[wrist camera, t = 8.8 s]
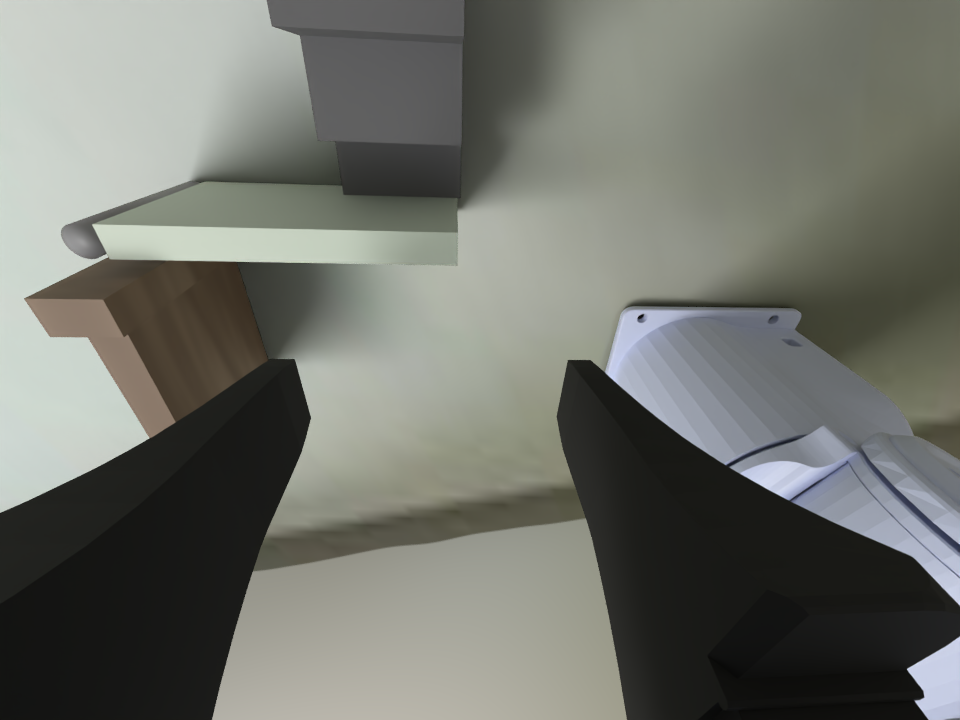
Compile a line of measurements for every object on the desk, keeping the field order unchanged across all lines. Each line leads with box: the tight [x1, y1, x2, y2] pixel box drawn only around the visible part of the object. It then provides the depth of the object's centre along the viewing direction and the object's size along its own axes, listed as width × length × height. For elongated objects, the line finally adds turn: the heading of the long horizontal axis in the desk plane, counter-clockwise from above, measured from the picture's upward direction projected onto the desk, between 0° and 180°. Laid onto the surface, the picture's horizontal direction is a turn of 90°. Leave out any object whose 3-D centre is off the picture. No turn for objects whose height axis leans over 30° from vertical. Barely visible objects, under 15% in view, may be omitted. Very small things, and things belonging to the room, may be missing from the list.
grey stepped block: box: [267, 0, 465, 198], centre depth 12 cm, size 7×4×6 cm, turn 178°
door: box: [61, 181, 458, 266], centre depth 14 cm, size 11×1×6 cm, turn 88°
